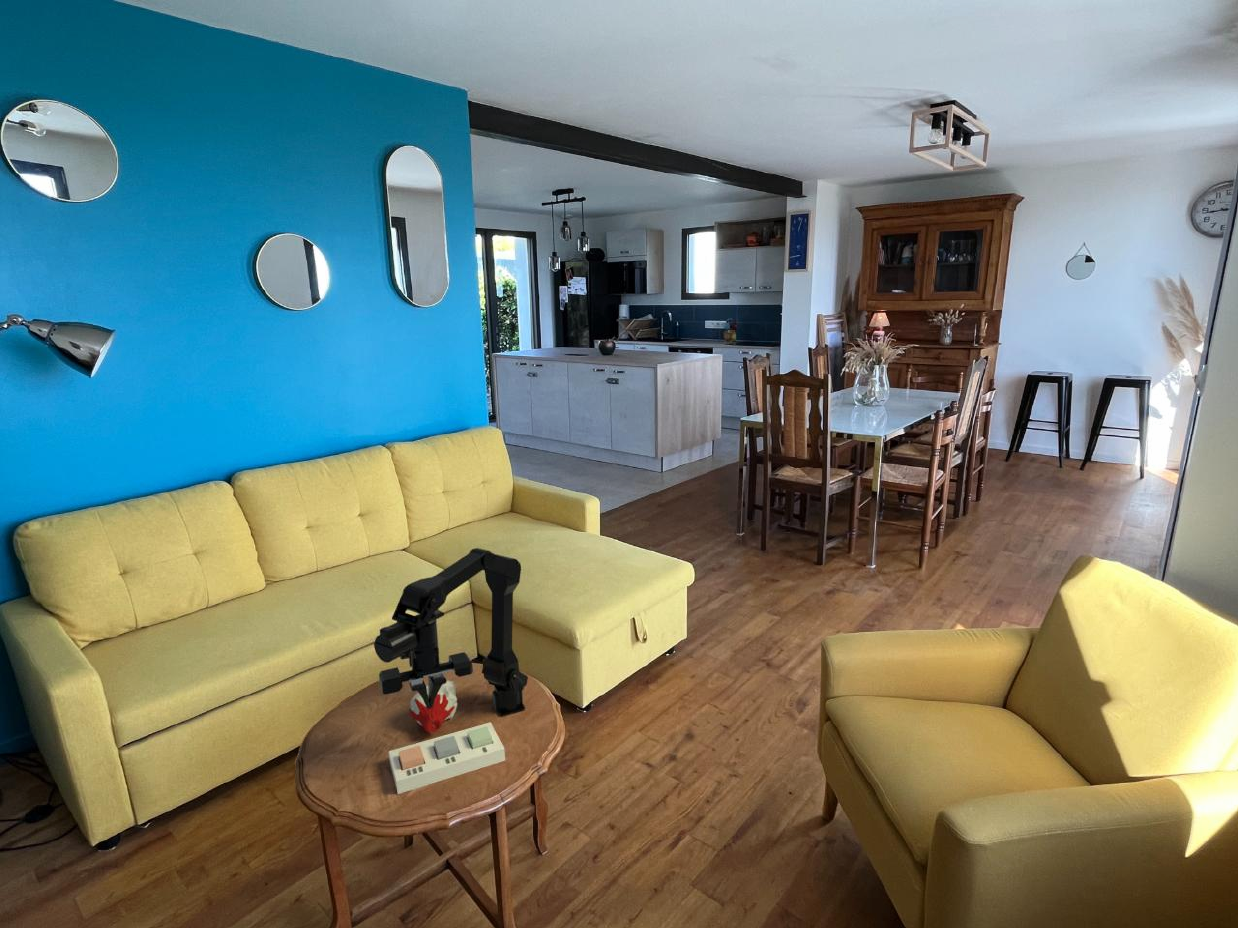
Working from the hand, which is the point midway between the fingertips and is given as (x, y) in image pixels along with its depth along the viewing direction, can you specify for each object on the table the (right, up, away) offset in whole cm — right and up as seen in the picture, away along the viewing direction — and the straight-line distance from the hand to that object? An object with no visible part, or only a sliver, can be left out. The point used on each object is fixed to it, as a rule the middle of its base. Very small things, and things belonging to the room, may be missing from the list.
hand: (429, 708), depth 148 cm
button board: (+3, -13, +3) cm, 14 cm away
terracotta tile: (-4, -12, 0) cm, 12 cm away
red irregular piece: (-3, -10, +18) cm, 21 cm away
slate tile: (+3, -11, +3) cm, 12 cm away
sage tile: (+10, -10, +6) cm, 15 cm away
